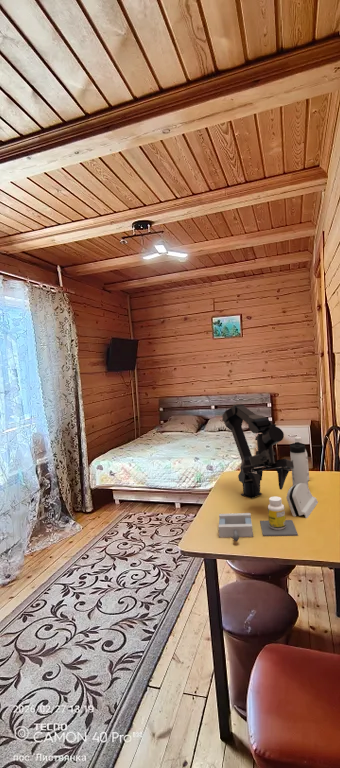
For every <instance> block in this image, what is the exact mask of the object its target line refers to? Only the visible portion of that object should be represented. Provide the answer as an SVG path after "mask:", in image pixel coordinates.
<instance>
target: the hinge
mask: <svg viewBox="0 0 340 768" xmlns="http://www.w3.org/2000/svg"><path fill="white" fill-rule="evenodd" d="M286 493H287V494H286V501H287V504H288V507H289V509H290V512H291V514H292V517H297V515H298V517H299V516H303V515H304V517H305V519H308V518H309V516H310V515H311V513H312V512H313V511H314V509H315V508H316V506H317V505H318V503H319V501H318V500H317V497H315V496H313V494H312V492H311V491H310V488H309V485H308V486H307V484H306V483H300V484H296V485H294V486H293V485H292V486H290V488H289V489H288V491H287V492H286Z"/></svg>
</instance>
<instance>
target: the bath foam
mask: <svg viewBox="0 0 340 768" xmlns="http://www.w3.org/2000/svg"><path fill="white" fill-rule="evenodd" d="M295 442H299V443H303V440H302V437H301V436H295V437H294V443H295ZM305 451H306V452H305V453H306V464H307V477H308V481H310V470H309V456H308V452H307V449H305Z"/></svg>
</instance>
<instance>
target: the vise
mask: <svg viewBox="0 0 340 768" xmlns="http://www.w3.org/2000/svg"><path fill="white" fill-rule="evenodd" d="M218 520H219V521H218V526H217V528H218V535H219V536H218V538H232V540H233V541H234V542H238V540H239V539H240V538H253V537H254V532H253V523H252V516H251V512H241V513H240V512H239V513H238V512H234V513H232V512H230V513H219V514H218Z"/></svg>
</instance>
